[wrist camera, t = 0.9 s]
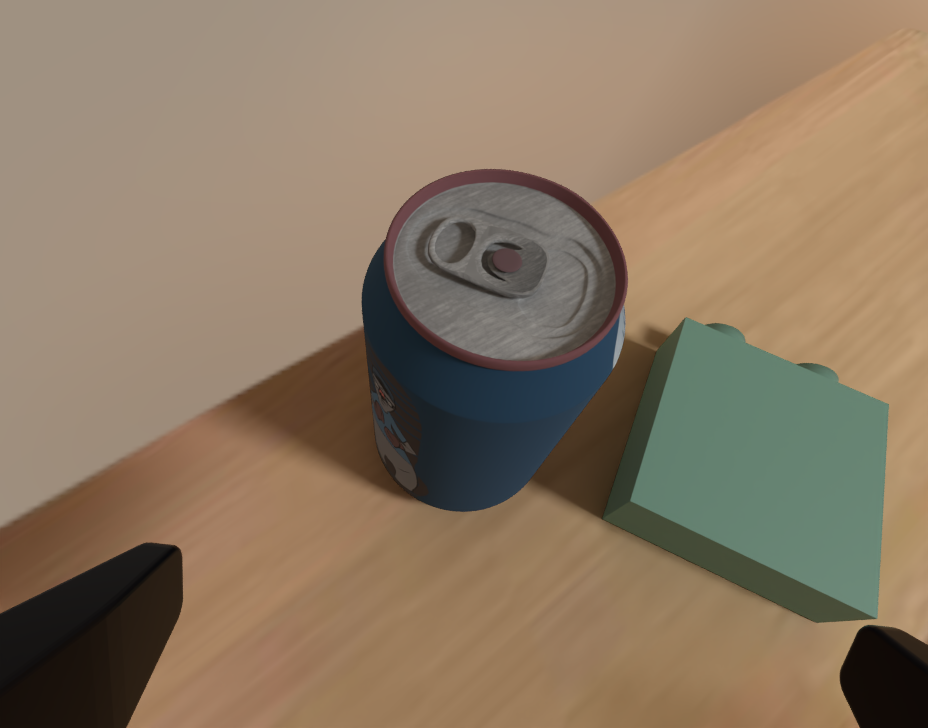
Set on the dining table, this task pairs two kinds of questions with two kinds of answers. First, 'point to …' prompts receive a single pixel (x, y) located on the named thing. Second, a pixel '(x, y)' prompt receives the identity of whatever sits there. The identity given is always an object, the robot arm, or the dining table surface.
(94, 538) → the dining table surface
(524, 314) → the soda can
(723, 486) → the base brick
